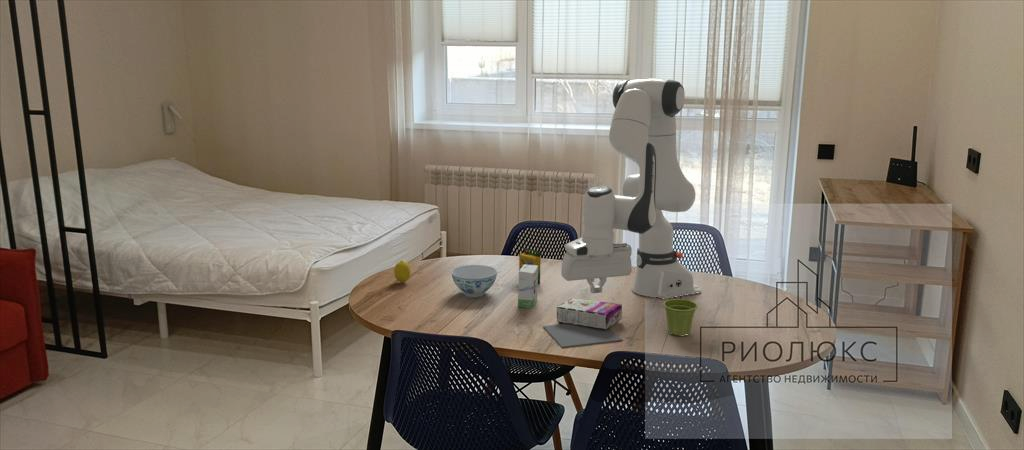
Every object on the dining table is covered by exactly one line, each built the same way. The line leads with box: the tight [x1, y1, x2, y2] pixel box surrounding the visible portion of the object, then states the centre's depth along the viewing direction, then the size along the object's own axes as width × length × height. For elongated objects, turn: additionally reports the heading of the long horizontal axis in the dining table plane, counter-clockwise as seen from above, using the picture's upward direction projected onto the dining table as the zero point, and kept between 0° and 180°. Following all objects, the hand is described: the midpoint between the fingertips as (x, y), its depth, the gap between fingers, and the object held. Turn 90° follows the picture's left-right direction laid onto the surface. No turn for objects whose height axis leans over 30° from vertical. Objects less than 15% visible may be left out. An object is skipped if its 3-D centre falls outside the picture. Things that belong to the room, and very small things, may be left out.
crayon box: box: [518, 247, 542, 285], centre depth 266 cm, size 7×3×12 cm, turn 49°
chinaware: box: [450, 264, 498, 298], centre depth 255 cm, size 15×15×8 cm
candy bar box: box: [556, 297, 623, 329], centre depth 230 cm, size 11×5×16 cm
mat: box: [542, 323, 624, 349], centre depth 222 cm, size 18×16×1 cm
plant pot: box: [663, 298, 698, 336], centre depth 222 cm, size 9×9×9 cm
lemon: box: [393, 260, 411, 284], centre depth 266 cm, size 6×6×8 cm
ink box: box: [517, 264, 539, 309], centre depth 245 cm, size 9×5×12 cm, turn 168°
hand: (596, 292), depth 220 cm, fingers closed
